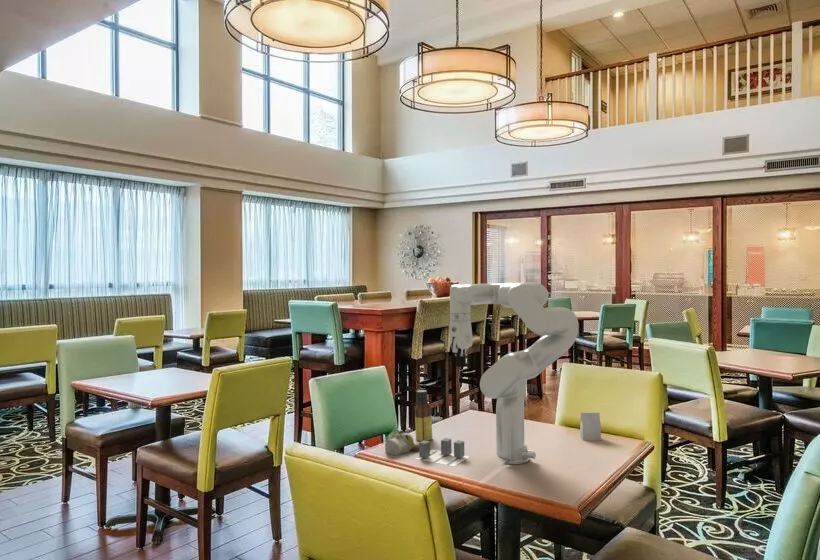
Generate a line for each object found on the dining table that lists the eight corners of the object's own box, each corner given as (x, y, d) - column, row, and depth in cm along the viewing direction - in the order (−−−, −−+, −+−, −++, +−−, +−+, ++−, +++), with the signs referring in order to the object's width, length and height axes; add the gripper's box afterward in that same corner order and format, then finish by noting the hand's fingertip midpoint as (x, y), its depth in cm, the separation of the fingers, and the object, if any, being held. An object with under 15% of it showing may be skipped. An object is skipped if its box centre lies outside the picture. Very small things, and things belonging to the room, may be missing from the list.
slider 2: (451, 453, 195) (451, 439, 195) (447, 455, 193) (447, 441, 193) (445, 452, 197) (445, 438, 196) (441, 454, 194) (440, 440, 194)
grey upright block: (600, 440, 214) (600, 413, 214) (582, 440, 215) (582, 413, 215) (598, 437, 218) (597, 411, 218) (580, 437, 218) (580, 411, 218)
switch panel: (469, 460, 193) (469, 456, 193) (454, 470, 184) (453, 466, 184) (432, 453, 201) (432, 449, 201) (415, 462, 192) (414, 458, 192)
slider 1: (430, 456, 193) (429, 441, 193) (425, 458, 190) (425, 443, 190) (424, 454, 194) (423, 440, 194) (419, 457, 192) (419, 442, 192)
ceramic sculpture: (376, 431, 200) (406, 424, 210) (375, 455, 200) (405, 448, 210) (398, 437, 192) (427, 430, 203) (397, 462, 192) (426, 454, 203)
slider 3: (464, 455, 193) (464, 441, 192) (460, 458, 190) (460, 443, 190) (458, 454, 194) (458, 440, 194) (454, 457, 191) (453, 442, 191)
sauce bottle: (433, 440, 217) (432, 388, 216) (432, 445, 210) (431, 392, 210) (415, 440, 217) (415, 388, 217) (414, 445, 211) (413, 392, 211)
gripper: (459, 319, 203) (460, 370, 203) (478, 316, 215) (478, 364, 215) (441, 318, 207) (442, 368, 207) (460, 315, 219) (461, 363, 220)
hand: (460, 366), depth 211 cm, fingers closed
